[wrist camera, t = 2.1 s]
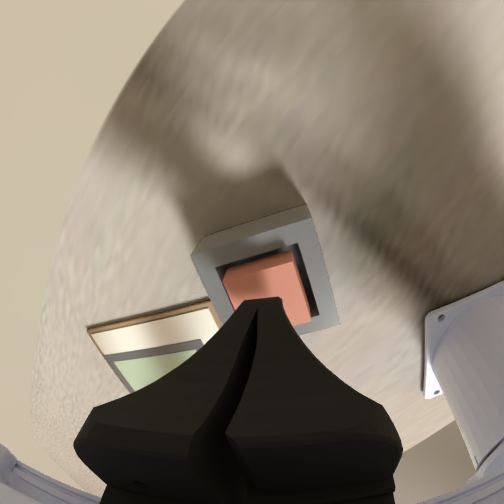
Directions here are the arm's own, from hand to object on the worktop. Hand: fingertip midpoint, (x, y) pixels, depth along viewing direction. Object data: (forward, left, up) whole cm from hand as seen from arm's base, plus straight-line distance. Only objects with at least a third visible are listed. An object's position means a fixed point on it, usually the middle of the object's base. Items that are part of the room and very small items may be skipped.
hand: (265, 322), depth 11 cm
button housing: (0, 0, -5) cm, 5 cm away
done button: (0, 0, -3) cm, 3 cm away
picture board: (+8, +6, -5) cm, 11 cm away
